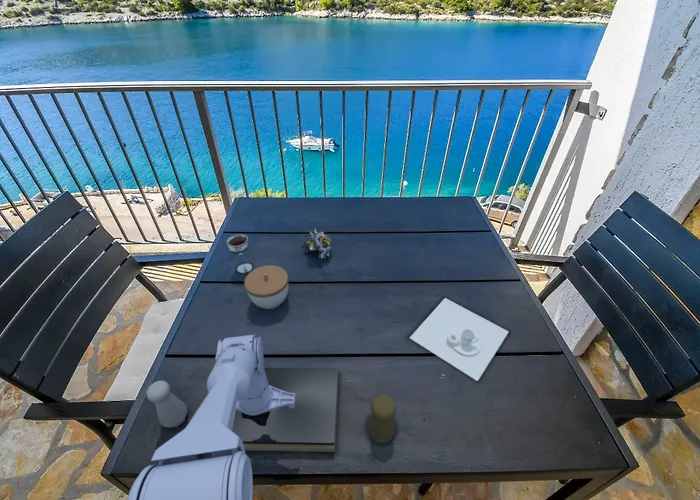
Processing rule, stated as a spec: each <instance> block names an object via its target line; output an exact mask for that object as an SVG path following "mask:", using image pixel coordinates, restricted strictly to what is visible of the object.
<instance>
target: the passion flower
mask: <svg viewBox="0 0 700 500" xmlns="http://www.w3.org/2000/svg"><path fill="white" fill-rule="evenodd" d="M309 235H310V239H309V240H308V241H307V240H306V239H305V238H307V235H306V234H305V233H303V234H302V238H303V240H304V243H303V245H302V246H301V249H303V248H304V247H305V248H306V253H308V252H315V251H318V252H319V253H318V259H319V260H323V259H324V260H326V257H327V258H330V252H331V249H332V240H331V238H330V237H329V234H328V233H325V232H324V231H319V232H318V231H317V228H314V229H313V232H312V231H309Z"/></svg>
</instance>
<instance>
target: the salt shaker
mask: <svg viewBox="0 0 700 500" xmlns="http://www.w3.org/2000/svg"><path fill="white" fill-rule="evenodd" d="M146 398H147V399H148V400H149V402H151V403H153V404H154V406H155V410H156V414H157V419H158V422H159V423H160V425H161V426H162V427H165V428H167V429H168V428H169V429H170V428H178V427H179V426H181V425H182V424H183V423H184V422H185V421H186V417H187V414H188V407H187V405H186V404H185V402H183V401H182V400H181V399H180V398H179V397H177V396H176V395H175V394H174V393H172V392H171V385H170V384H169V383H168V382H167V381H166V380H157V381H155V382H153V383H151V385H150V386H148V388H147V390H146Z"/></svg>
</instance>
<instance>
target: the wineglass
mask: <svg viewBox="0 0 700 500" xmlns="http://www.w3.org/2000/svg"><path fill="white" fill-rule="evenodd" d="M226 244H227V249H228V251H229V252H230V253H231V254H233V255H236V256H240V260H241V262H242V263H241V264H240V265H238V266H237V268H236V270H237V272H238V273H241V274H245V273H249V272H251V271H252V269H253V266H252V264H251V263H249V262H248V263H247V262H246V263H245V261H244V256H243V255H244V254H245V253H246V252H248V251H249V248H250V241H249V237H248V236H247V235H246V234H242V233H237V234H233V235H230V236H229V237H228V239H227V240H226Z"/></svg>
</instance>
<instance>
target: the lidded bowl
mask: <svg viewBox="0 0 700 500" xmlns="http://www.w3.org/2000/svg"><path fill="white" fill-rule="evenodd" d="M244 288H245V290H246V293H247V295H248V298H249V299H250V301H251V302H252V303H253V304H254V305H255V306H256V307H258V308H261V309H265V310H274V309H276V308H278V307H279V306H281V305H282V303H283V304H284V301H285V300H286V299H287V297H288V294H289V290H290V289H289V288H290V287H289V275H288V272H287V271H286V269H284V268H282V267H281V266H278V265H269V264H268V265H261V266H259V267H256V268H255V269H253V270H250V271H249V272H248V274H247V275H246V277H245V279H244Z"/></svg>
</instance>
